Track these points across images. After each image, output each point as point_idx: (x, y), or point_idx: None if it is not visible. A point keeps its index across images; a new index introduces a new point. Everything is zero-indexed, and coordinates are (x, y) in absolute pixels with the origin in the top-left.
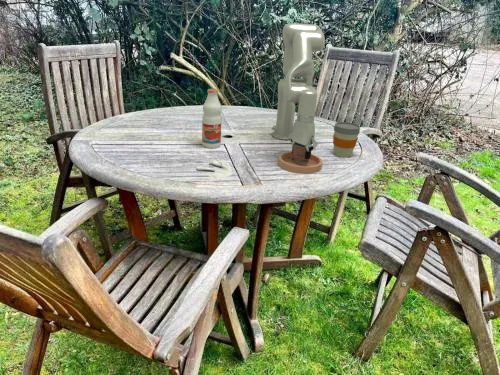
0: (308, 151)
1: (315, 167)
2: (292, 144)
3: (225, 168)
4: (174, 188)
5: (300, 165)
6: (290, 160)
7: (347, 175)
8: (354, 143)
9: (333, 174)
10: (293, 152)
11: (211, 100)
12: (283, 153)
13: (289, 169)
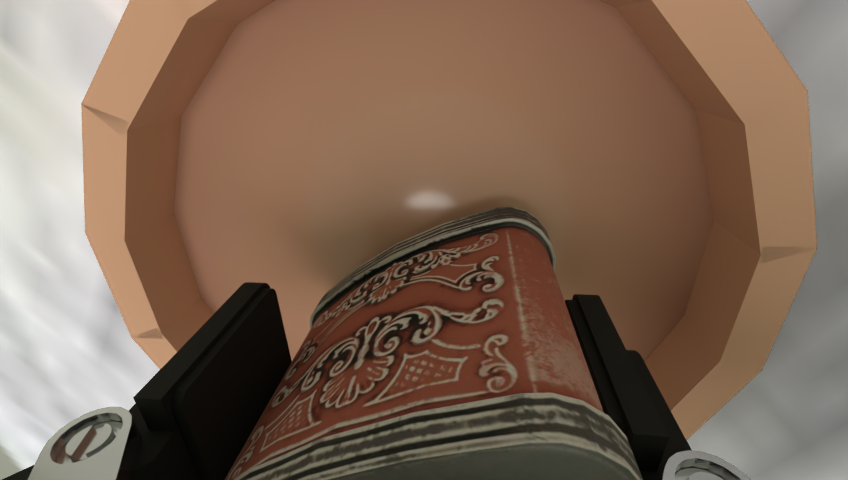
0: (133, 422)
1: (109, 250)
2: (705, 477)
3: None
4: None
5: (367, 215)
6: (580, 236)
7: (43, 399)
8: None
9: (82, 333)
10: (525, 283)
11: None
12: (785, 259)
13: None
